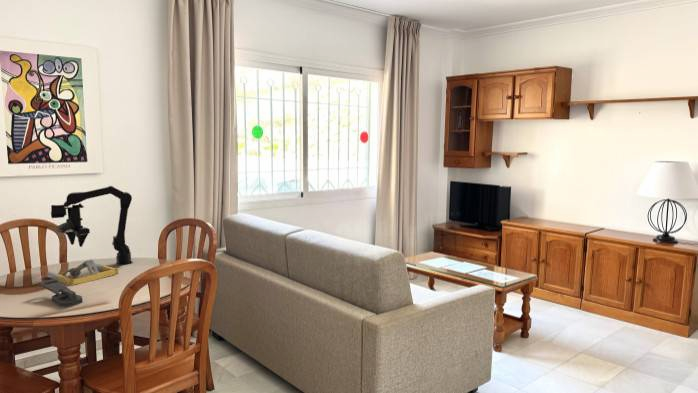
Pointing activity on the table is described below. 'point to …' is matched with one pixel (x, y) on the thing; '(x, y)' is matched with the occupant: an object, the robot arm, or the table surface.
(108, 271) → the guide channel
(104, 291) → the table surface
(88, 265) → the bracket
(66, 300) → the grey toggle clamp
